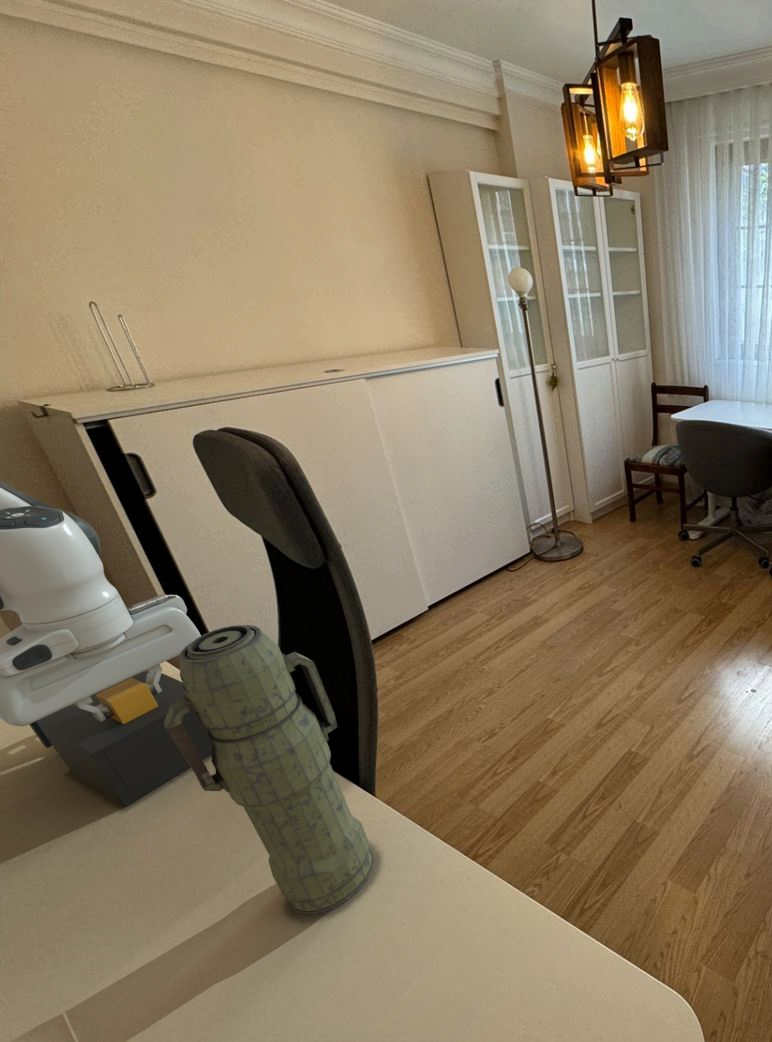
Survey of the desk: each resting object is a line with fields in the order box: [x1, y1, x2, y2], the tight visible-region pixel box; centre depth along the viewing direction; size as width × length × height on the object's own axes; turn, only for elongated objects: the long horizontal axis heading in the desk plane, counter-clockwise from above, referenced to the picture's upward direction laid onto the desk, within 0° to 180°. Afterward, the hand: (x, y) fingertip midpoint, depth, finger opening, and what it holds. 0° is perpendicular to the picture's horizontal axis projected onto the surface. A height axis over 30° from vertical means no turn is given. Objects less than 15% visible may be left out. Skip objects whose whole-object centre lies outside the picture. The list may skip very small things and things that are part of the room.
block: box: [96, 678, 158, 724], centre depth 79 cm, size 4×4×4 cm
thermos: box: [164, 624, 375, 916], centre depth 60 cm, size 9×12×35 cm
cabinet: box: [36, 671, 212, 808], centre depth 83 cm, size 16×13×10 cm
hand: (130, 705), depth 79 cm, fingers closed on block, 4 cm apart
